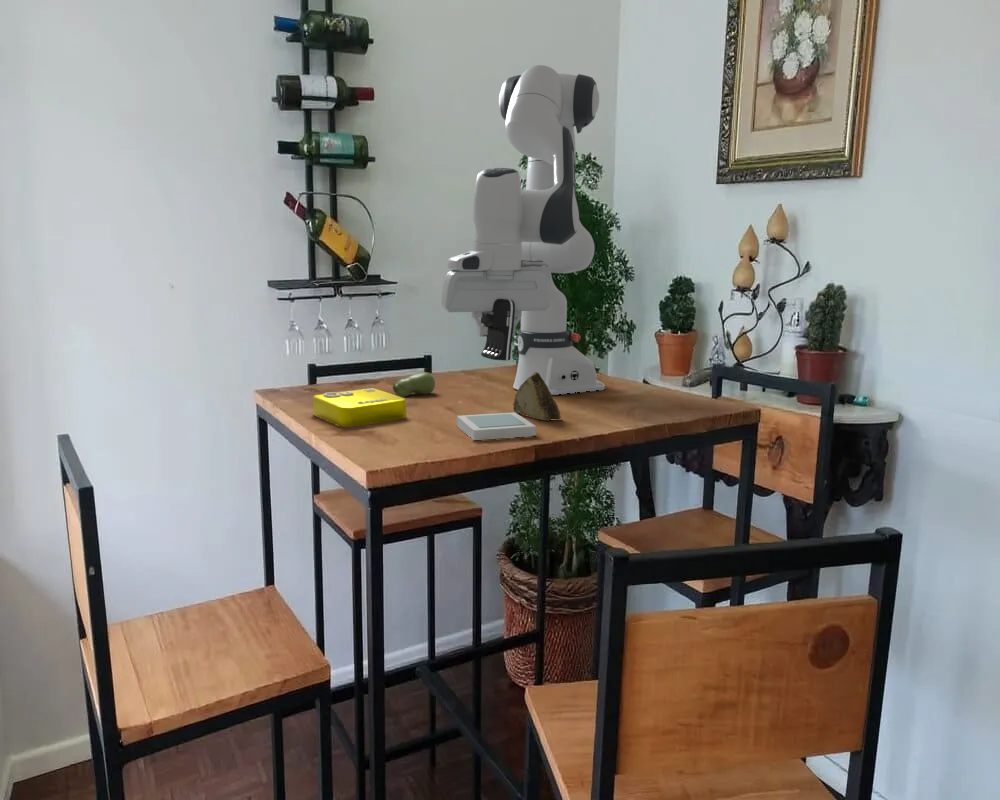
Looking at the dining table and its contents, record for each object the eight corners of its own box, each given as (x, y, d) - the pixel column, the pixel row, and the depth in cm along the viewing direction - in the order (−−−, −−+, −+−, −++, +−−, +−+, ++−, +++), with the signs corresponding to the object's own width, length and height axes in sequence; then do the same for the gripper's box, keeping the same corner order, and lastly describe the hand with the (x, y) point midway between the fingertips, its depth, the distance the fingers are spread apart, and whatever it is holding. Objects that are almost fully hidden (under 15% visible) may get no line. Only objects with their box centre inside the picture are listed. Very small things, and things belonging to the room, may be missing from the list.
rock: (499, 401, 164) (510, 404, 155) (522, 368, 165) (535, 369, 155) (539, 430, 167) (552, 435, 157) (561, 397, 167) (576, 400, 158)
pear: (436, 372, 180) (395, 381, 176) (440, 393, 181) (399, 404, 178) (428, 368, 185) (388, 377, 181) (432, 389, 186) (392, 399, 183)
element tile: (343, 430, 150) (342, 405, 149) (310, 415, 161) (309, 393, 160) (410, 420, 159) (410, 396, 158) (374, 407, 170) (373, 385, 169)
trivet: (514, 422, 156) (515, 411, 155) (535, 436, 145) (536, 425, 144) (456, 425, 152) (456, 415, 152) (473, 441, 141) (473, 429, 141)
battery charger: (474, 356, 147) (479, 295, 145) (492, 356, 149) (497, 296, 147) (493, 361, 141) (499, 298, 139) (511, 361, 143) (517, 299, 141)
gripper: (544, 259, 148) (542, 332, 151) (439, 259, 142) (439, 335, 145) (556, 260, 142) (554, 336, 145) (447, 260, 136) (447, 339, 139)
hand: (496, 335), depth 145 cm, fingers closed on battery charger, 4 cm apart
